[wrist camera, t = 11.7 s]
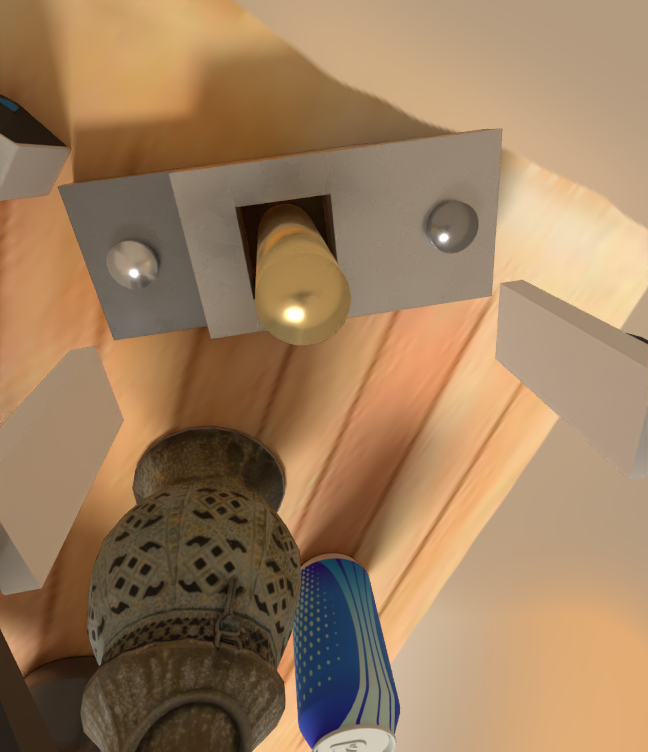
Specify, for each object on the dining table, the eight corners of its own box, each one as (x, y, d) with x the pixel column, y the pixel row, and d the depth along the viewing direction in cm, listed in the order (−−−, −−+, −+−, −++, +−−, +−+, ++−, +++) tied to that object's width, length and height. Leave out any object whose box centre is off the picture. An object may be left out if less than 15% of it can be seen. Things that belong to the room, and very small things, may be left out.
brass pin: (263, 265, 33) (264, 352, 20) (252, 208, 31) (246, 260, 18) (317, 257, 33) (354, 338, 20) (310, 199, 31) (346, 246, 18)
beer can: (317, 537, 46) (341, 712, 32) (382, 562, 49) (429, 733, 35) (274, 587, 49) (279, 769, 35) (338, 609, 52) (366, 784, 38)
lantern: (96, 465, 39) (-115, 885, 17) (238, 391, 37) (204, 751, 15) (192, 559, 46) (127, 951, 24) (317, 499, 44) (372, 861, 22)
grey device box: (123, 327, 34) (98, 360, 29) (73, 182, 29) (32, 192, 24) (462, 276, 35) (497, 299, 30) (467, 129, 30) (508, 128, 25)
